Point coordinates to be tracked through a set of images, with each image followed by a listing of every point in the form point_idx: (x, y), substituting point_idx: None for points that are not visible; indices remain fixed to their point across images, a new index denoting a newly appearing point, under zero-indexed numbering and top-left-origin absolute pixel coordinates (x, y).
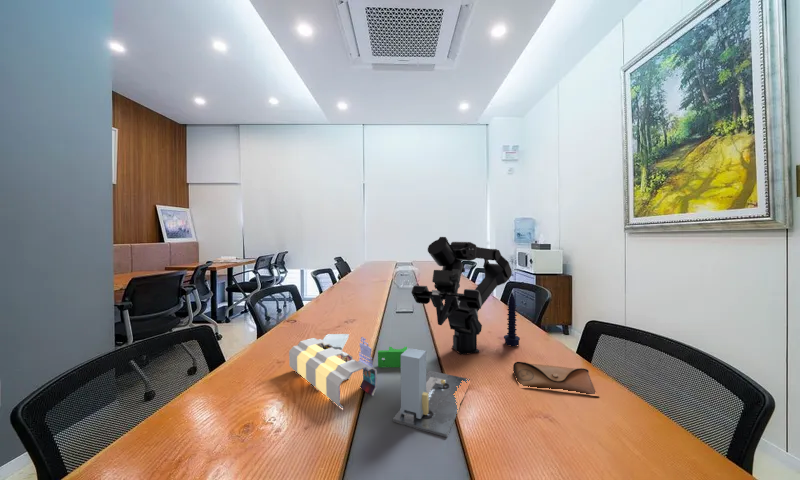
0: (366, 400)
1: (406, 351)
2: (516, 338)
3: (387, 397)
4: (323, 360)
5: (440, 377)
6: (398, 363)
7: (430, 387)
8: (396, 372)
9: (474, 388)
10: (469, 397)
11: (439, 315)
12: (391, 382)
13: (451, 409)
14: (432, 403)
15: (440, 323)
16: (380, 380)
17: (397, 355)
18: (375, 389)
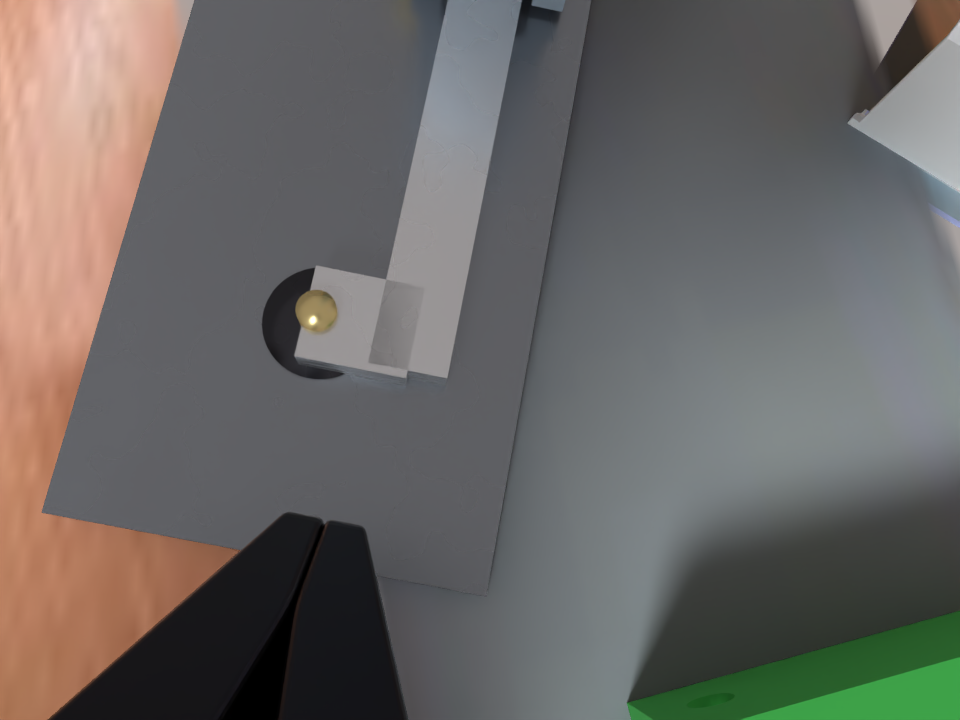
0: (868, 55)
1: None
2: None
3: (737, 116)
4: None
5: (356, 477)
6: (845, 651)
7: (420, 193)
8: (806, 528)
9: (30, 392)
10: (90, 238)
11: (309, 656)
12: (786, 334)
13: (235, 11)
14: (383, 57)
15: (293, 514)
16: (890, 346)
17: (905, 661)
18: (858, 116)
